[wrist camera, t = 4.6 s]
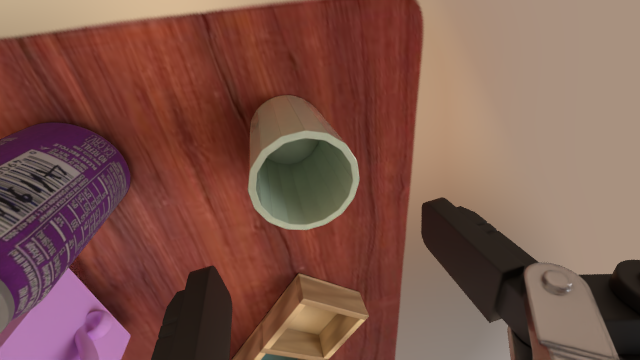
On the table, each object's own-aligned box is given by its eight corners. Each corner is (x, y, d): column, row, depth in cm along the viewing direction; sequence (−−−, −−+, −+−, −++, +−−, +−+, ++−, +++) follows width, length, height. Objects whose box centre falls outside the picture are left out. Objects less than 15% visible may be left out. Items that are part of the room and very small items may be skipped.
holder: (298, 272, 30) (303, 298, 27) (359, 291, 34) (369, 316, 31) (228, 364, 35) (225, 394, 32) (287, 371, 39) (290, 399, 36)
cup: (273, 79, 20) (286, 108, 12) (336, 120, 23) (379, 165, 15) (236, 145, 22) (227, 206, 14) (298, 176, 24) (320, 242, 17)
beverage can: (-8, 125, 18) (-370, 254, 7) (111, 113, 19) (-58, 210, 9) (50, 213, 21) (-142, 384, 11) (147, 198, 22) (59, 340, 12)
